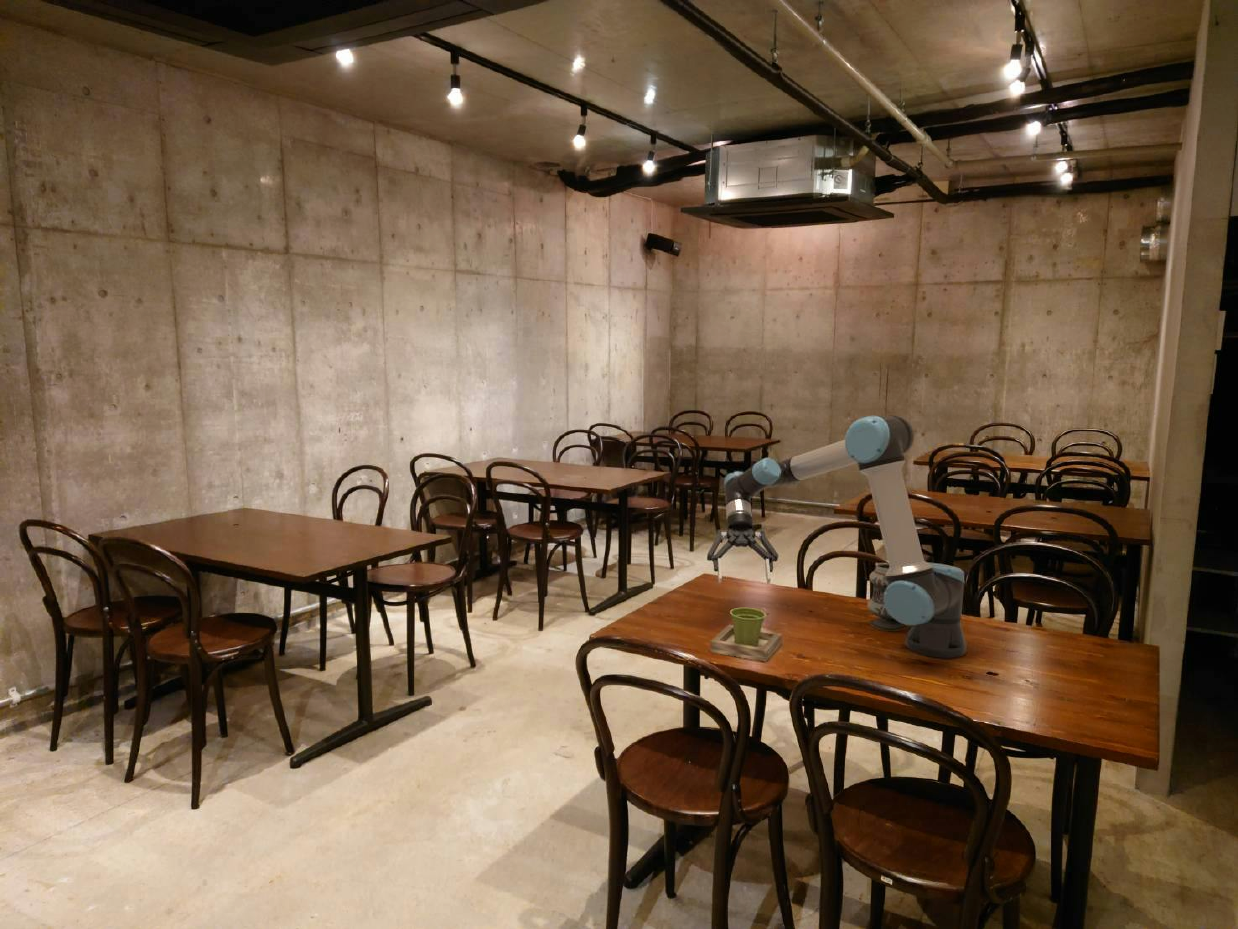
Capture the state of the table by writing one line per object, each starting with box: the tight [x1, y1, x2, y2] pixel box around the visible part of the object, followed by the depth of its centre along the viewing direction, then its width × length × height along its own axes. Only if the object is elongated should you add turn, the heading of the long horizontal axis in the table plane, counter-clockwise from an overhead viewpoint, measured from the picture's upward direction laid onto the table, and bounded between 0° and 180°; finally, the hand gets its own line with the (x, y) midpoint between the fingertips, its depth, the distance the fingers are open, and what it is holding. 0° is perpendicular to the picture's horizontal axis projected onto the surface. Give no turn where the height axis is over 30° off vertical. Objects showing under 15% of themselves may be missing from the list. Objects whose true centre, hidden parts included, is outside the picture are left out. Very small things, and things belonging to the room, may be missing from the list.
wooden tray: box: [709, 624, 783, 663], centre depth 208 cm, size 15×15×3 cm
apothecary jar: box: [866, 562, 907, 632], centre depth 227 cm, size 12×12×18 cm
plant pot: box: [729, 607, 767, 646], centre depth 208 cm, size 9×9×9 cm
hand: (744, 581), depth 219 cm, fingers open, 13 cm apart
